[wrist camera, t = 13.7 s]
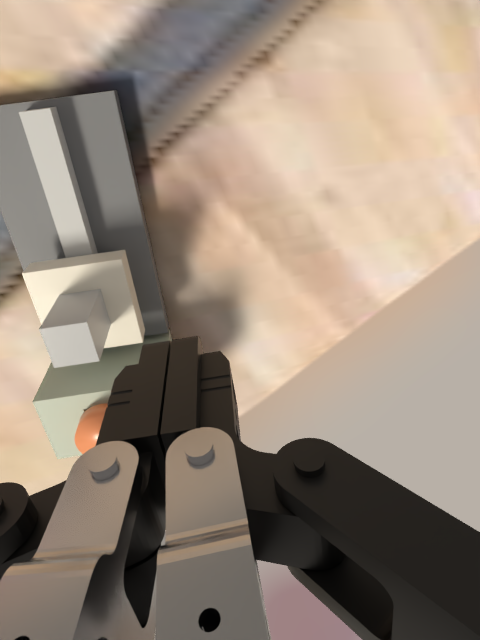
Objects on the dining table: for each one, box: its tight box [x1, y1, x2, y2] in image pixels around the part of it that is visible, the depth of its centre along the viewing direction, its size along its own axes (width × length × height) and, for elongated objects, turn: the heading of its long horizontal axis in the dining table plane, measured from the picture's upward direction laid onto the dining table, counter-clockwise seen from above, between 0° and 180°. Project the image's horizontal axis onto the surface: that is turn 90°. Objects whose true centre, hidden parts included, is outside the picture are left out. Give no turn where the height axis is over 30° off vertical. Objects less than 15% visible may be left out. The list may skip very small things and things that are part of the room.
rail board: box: [0, 90, 169, 336], centre depth 34 cm, size 10×19×3 cm, turn 6°
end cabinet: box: [33, 329, 172, 459], centre depth 39 cm, size 10×6×8 cm, turn 96°
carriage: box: [22, 250, 145, 368], centre depth 33 cm, size 7×7×8 cm
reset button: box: [75, 403, 108, 454], centre depth 36 cm, size 4×4×7 cm
